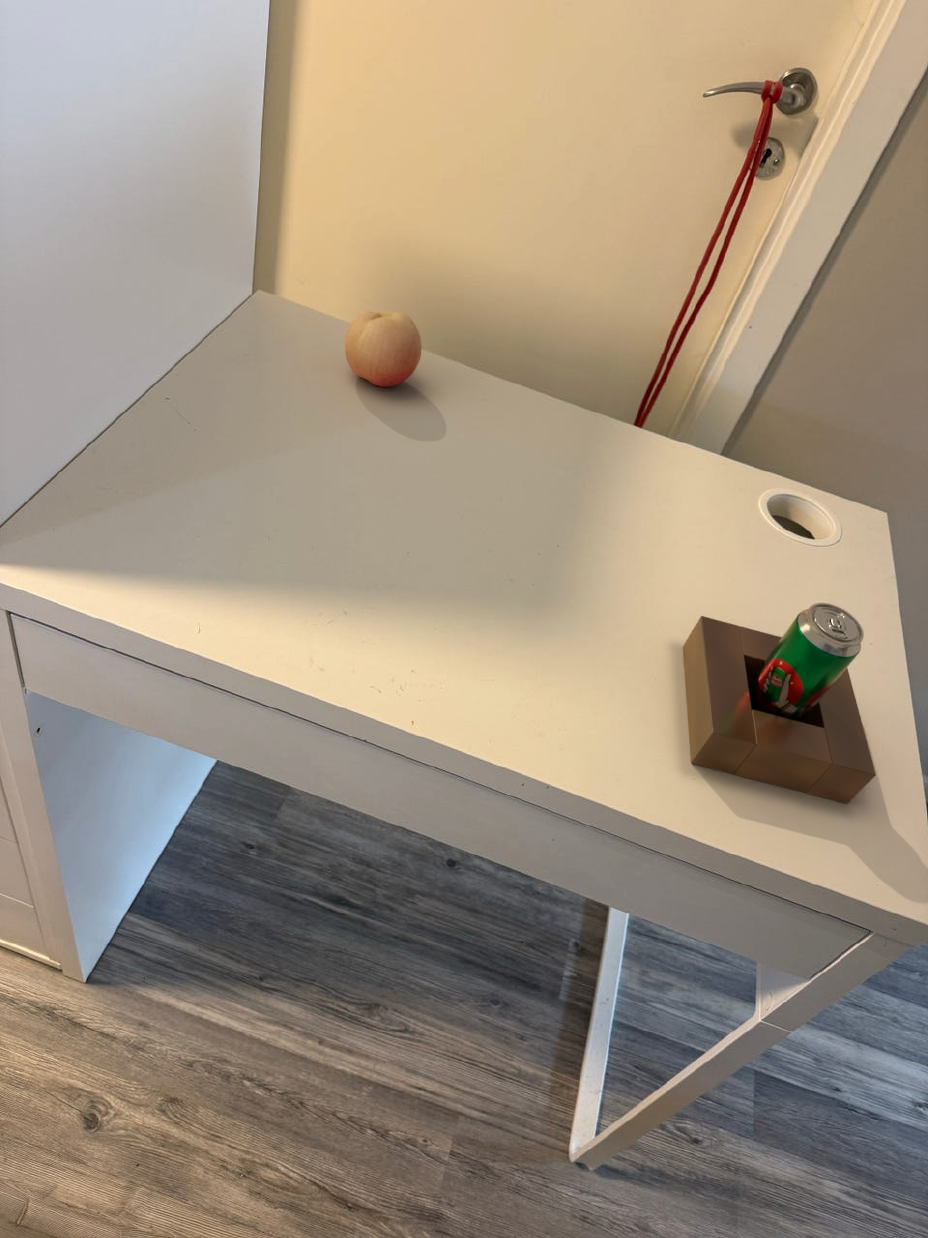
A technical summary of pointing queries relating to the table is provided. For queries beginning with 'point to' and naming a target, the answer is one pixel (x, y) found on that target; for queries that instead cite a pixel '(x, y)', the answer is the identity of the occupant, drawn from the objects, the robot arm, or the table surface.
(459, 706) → the table surface
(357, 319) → the fruit
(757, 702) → the soda can
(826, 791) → the holder
